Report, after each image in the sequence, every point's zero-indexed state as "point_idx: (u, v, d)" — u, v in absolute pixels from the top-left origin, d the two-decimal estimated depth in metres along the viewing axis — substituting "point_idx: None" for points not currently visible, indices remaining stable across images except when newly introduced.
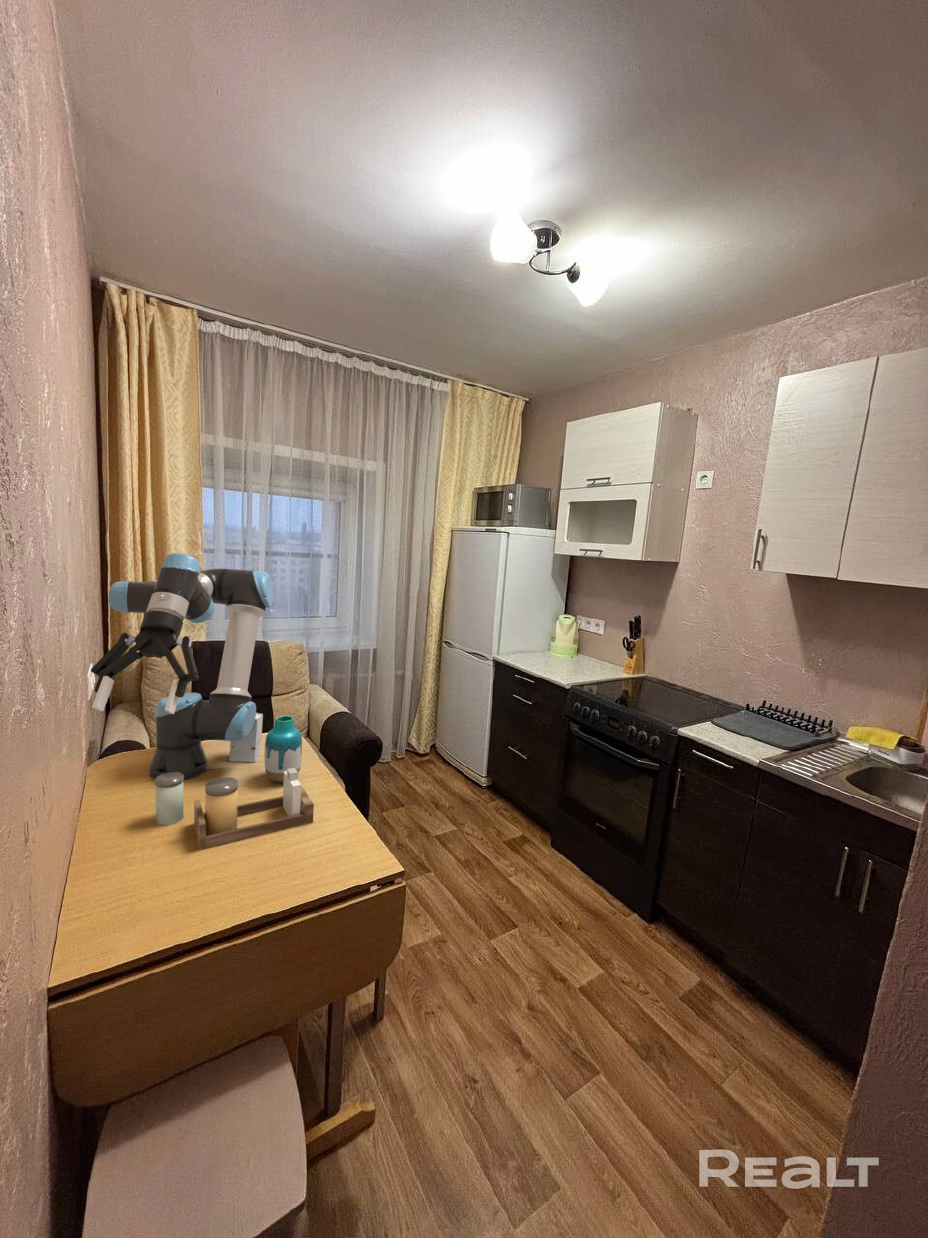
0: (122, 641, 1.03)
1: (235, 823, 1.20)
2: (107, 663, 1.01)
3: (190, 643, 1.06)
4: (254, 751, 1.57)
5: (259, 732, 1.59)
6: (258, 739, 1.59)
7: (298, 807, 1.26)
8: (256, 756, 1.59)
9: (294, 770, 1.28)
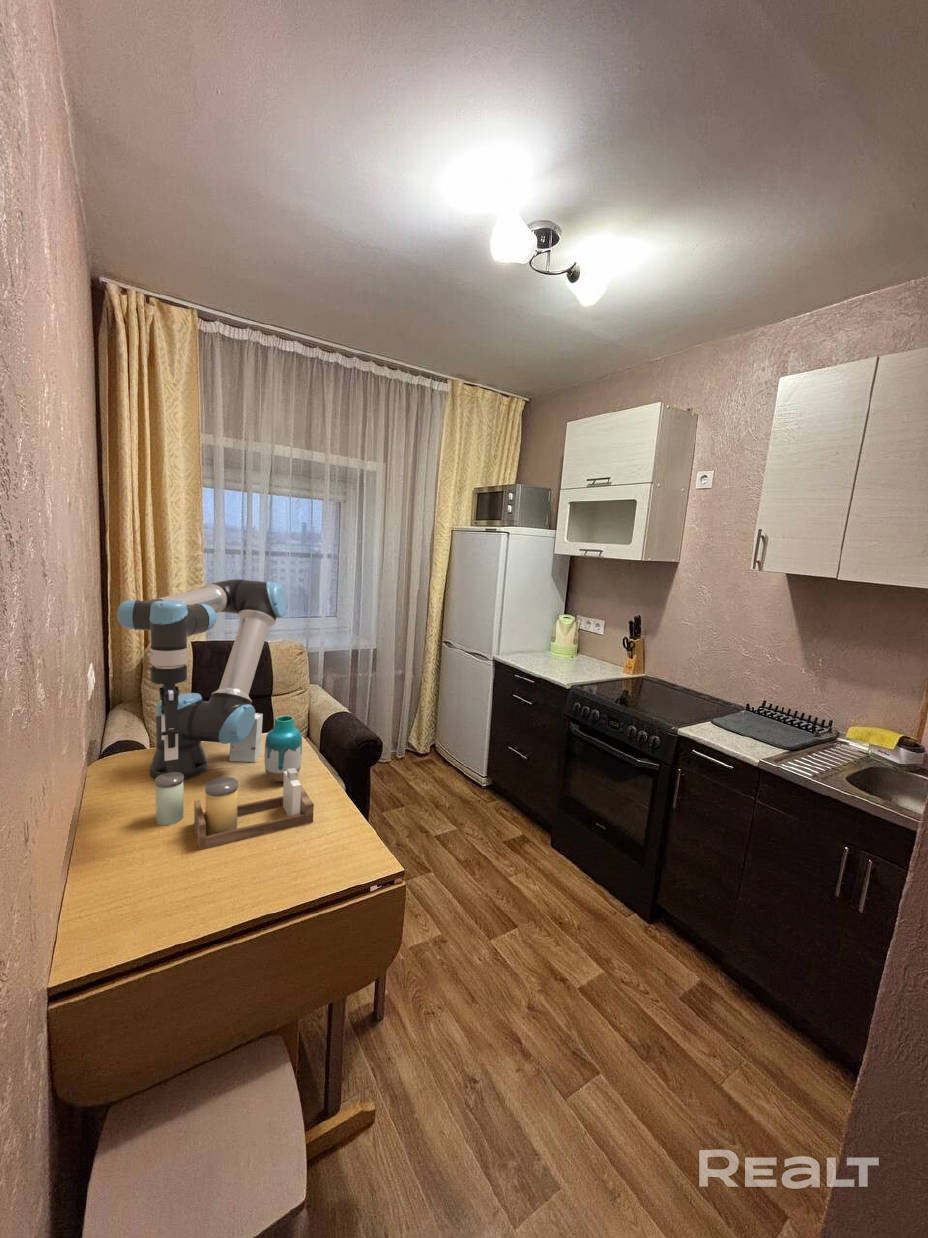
0: (162, 686, 1.23)
1: (235, 823, 1.20)
2: None
3: (171, 696, 1.13)
4: (254, 751, 1.57)
5: (259, 732, 1.59)
6: (258, 739, 1.59)
7: (298, 807, 1.26)
8: (256, 756, 1.59)
9: (294, 770, 1.28)
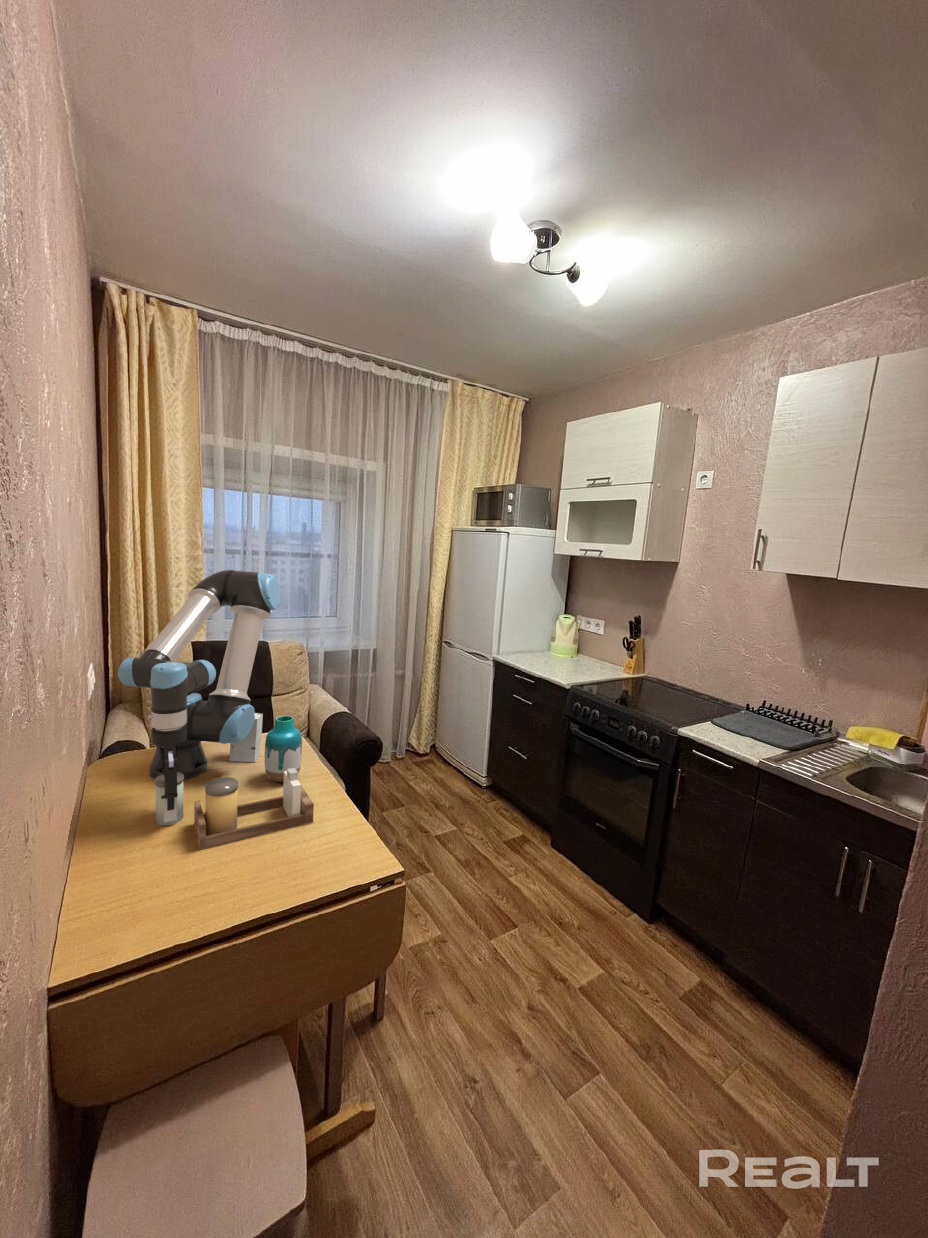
0: None
1: (235, 823, 1.20)
2: None
3: (171, 765, 1.16)
4: (254, 751, 1.57)
5: (259, 732, 1.59)
6: (258, 739, 1.59)
7: (298, 807, 1.26)
8: (256, 756, 1.59)
9: (294, 770, 1.28)
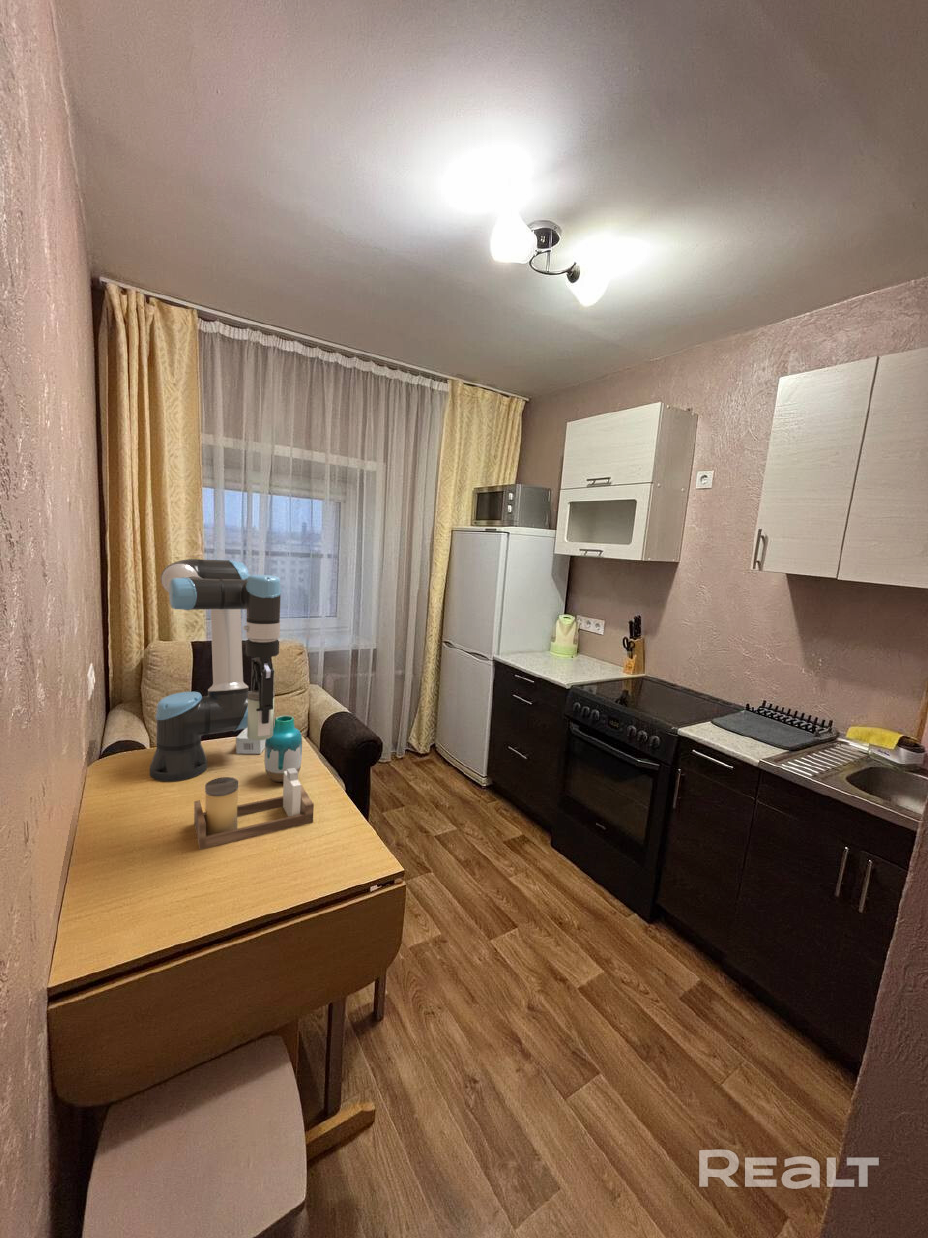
0: (252, 666, 1.23)
1: (235, 823, 1.20)
2: None
3: (268, 675, 1.14)
4: None
5: None
6: None
7: (298, 807, 1.26)
8: (262, 740, 1.64)
9: (294, 770, 1.28)
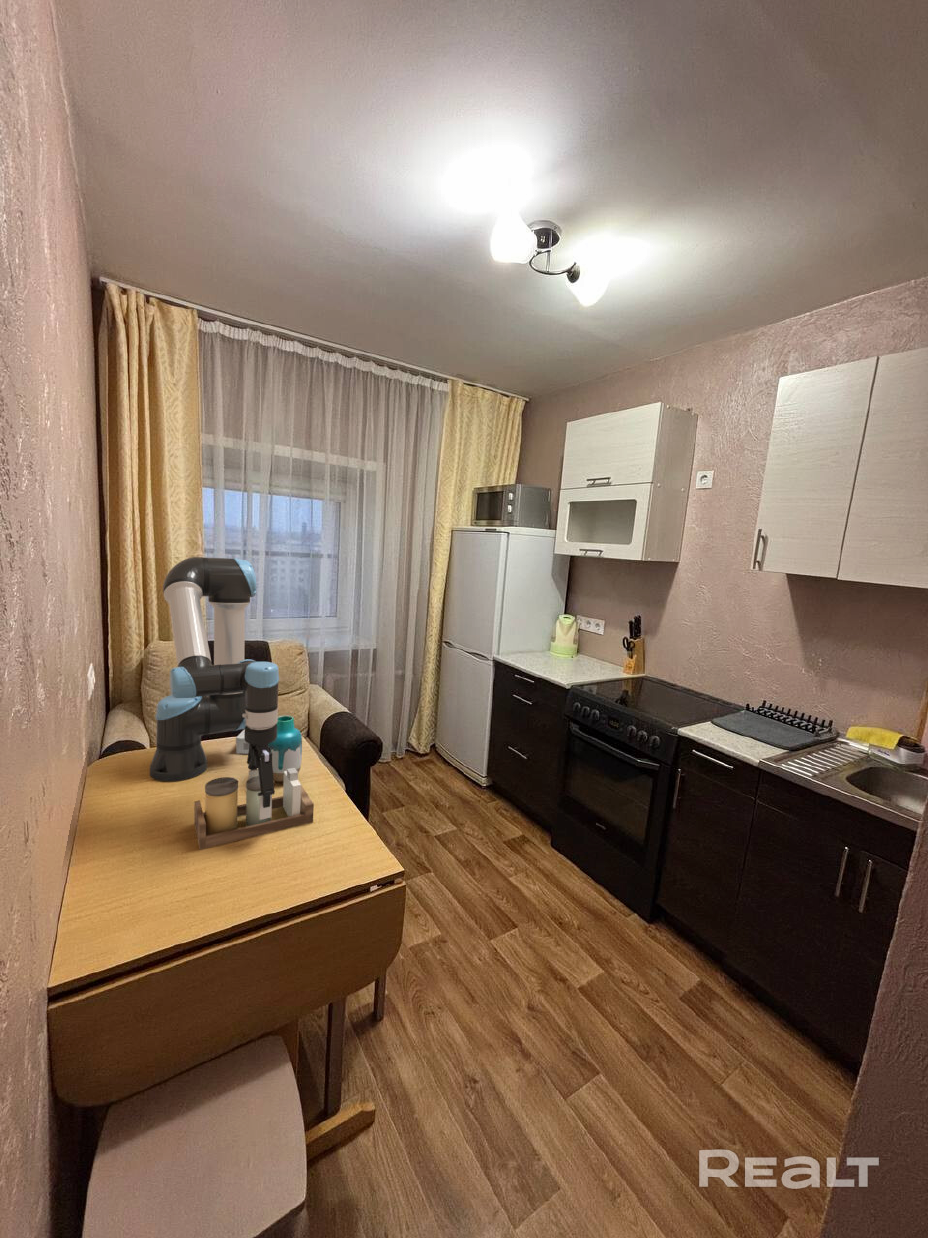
0: None
1: (235, 823, 1.20)
2: None
3: (267, 758, 1.17)
4: None
5: None
6: None
7: (298, 807, 1.26)
8: None
9: (294, 770, 1.28)
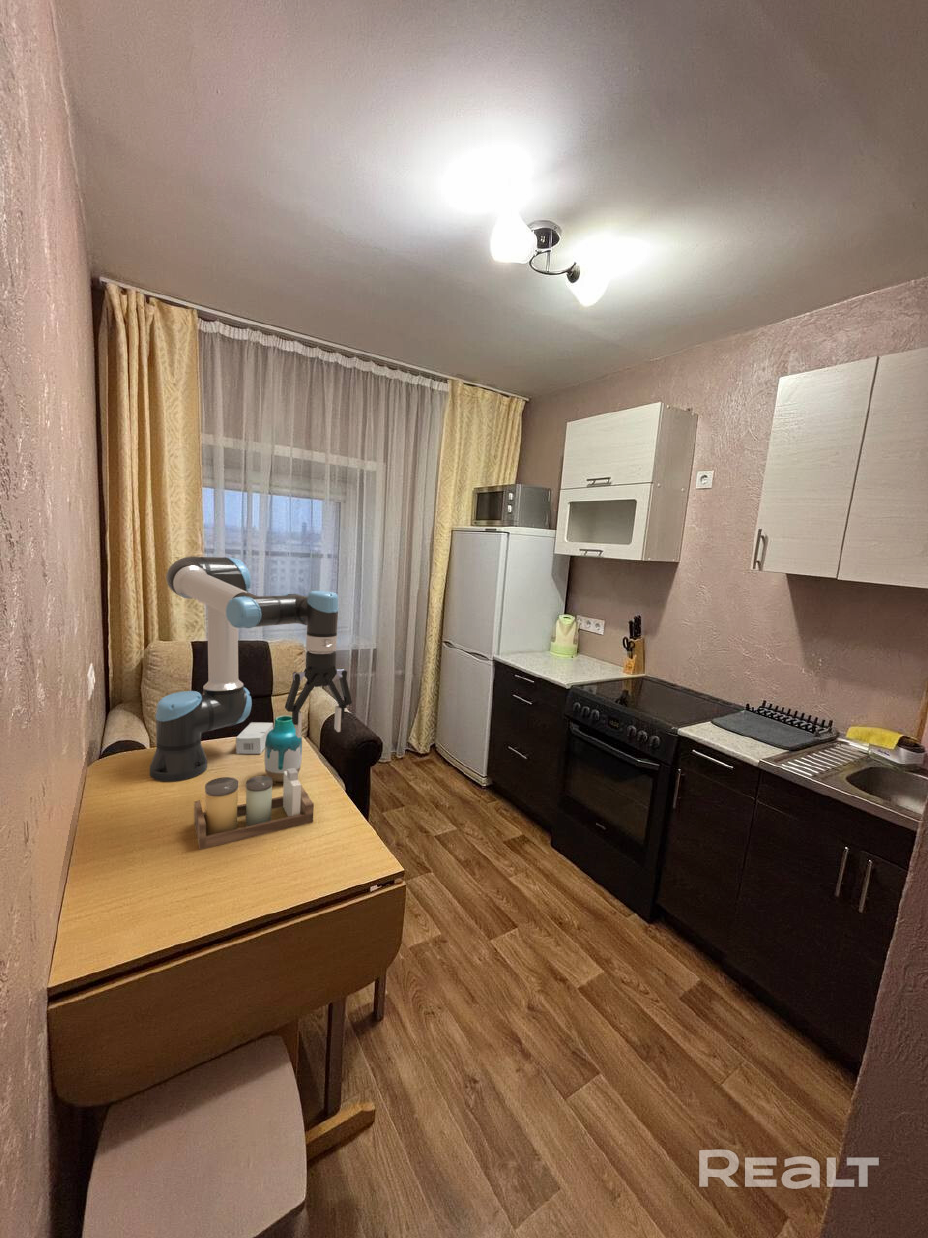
0: (298, 681, 1.24)
1: (235, 823, 1.20)
2: None
3: None
4: (263, 733, 1.66)
5: None
6: None
7: (298, 807, 1.26)
8: (262, 740, 1.64)
9: (294, 770, 1.28)
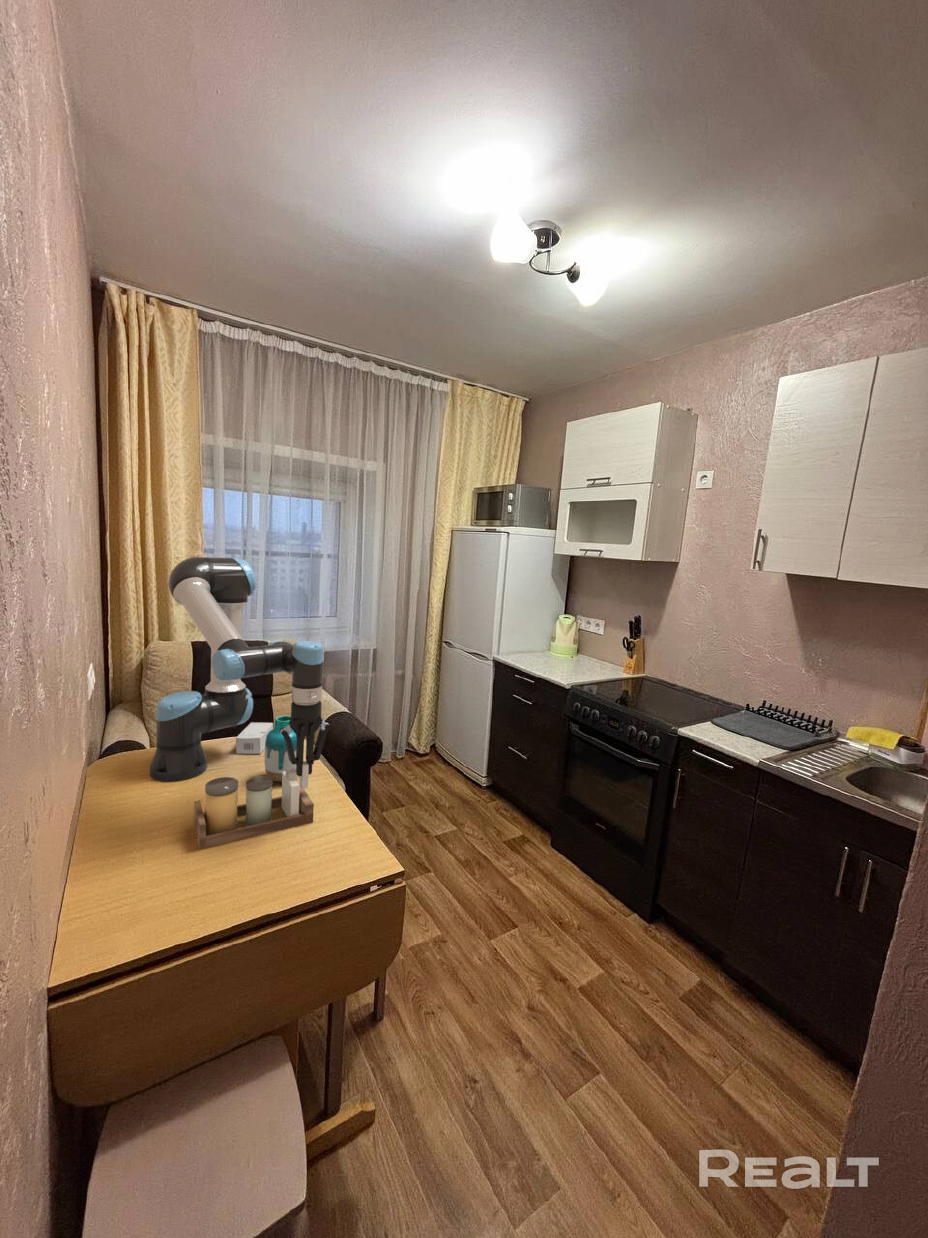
0: (288, 736, 1.25)
1: (235, 823, 1.20)
2: None
3: None
4: (263, 733, 1.66)
5: None
6: None
7: (297, 807, 1.25)
8: (262, 740, 1.64)
9: (292, 771, 1.28)
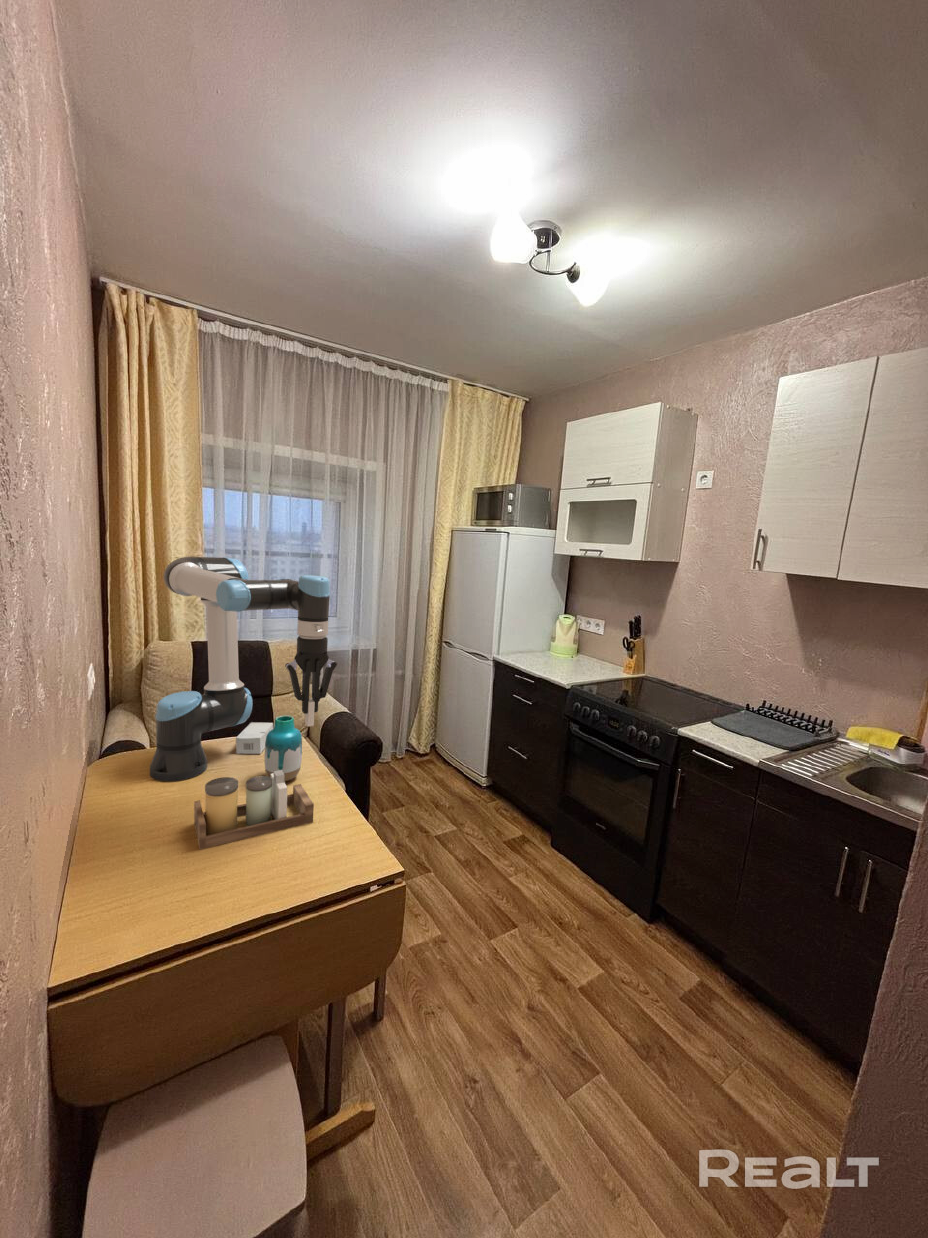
0: (294, 671, 1.23)
1: (235, 823, 1.20)
2: None
3: None
4: (263, 733, 1.66)
5: None
6: None
7: (284, 810, 1.24)
8: (262, 740, 1.64)
9: (280, 773, 1.26)
